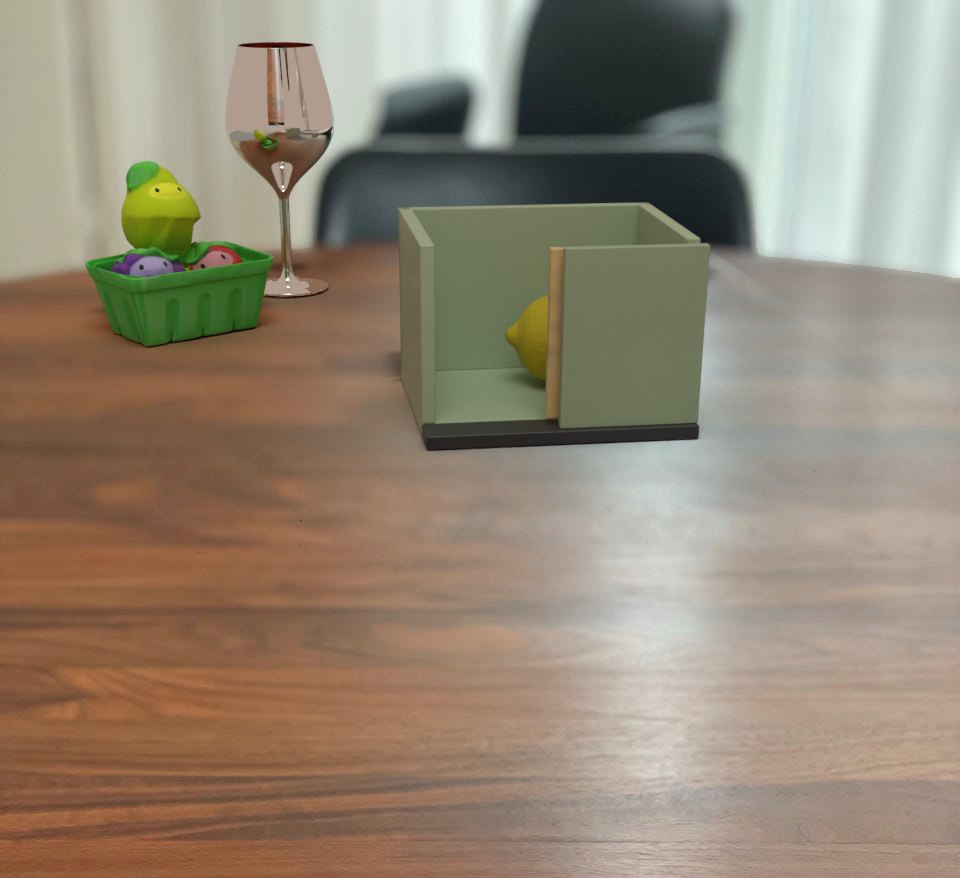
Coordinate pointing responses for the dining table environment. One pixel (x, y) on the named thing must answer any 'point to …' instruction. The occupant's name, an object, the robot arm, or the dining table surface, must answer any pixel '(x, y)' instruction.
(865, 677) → the dining table surface
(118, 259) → the fruit basket
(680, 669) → the dining table surface
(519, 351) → the lemon
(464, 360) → the cupboard
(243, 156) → the wineglass
